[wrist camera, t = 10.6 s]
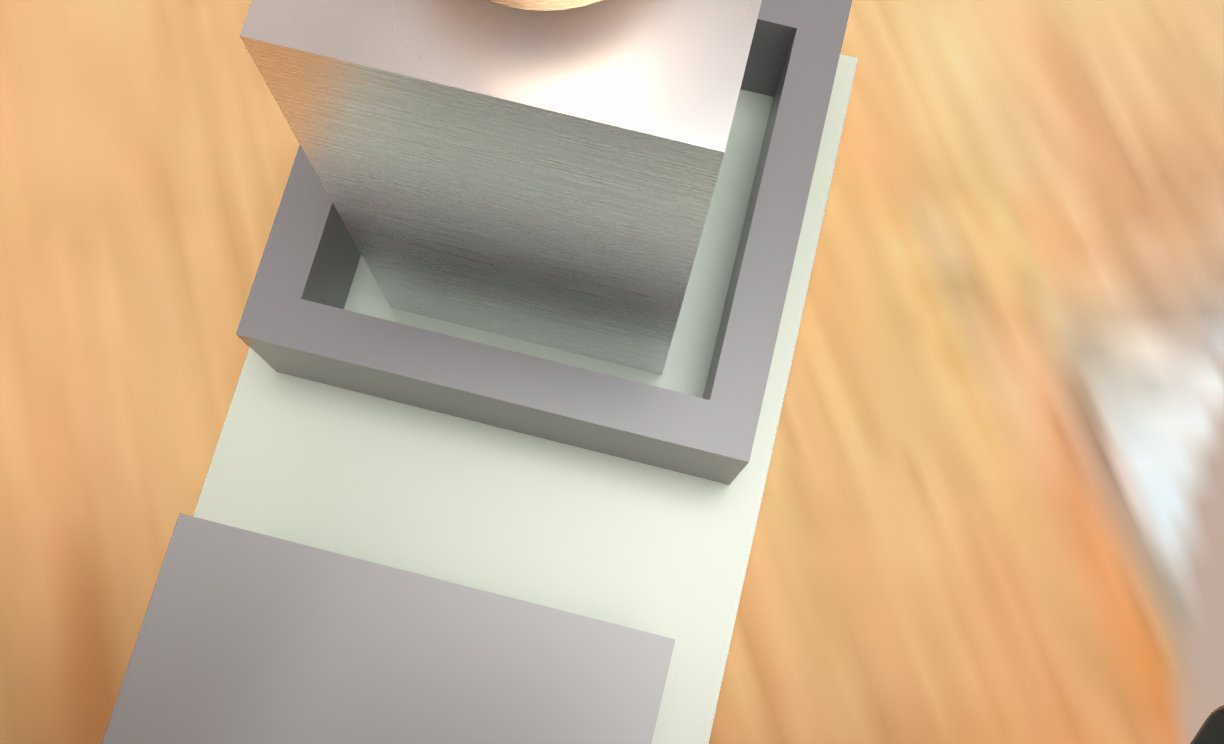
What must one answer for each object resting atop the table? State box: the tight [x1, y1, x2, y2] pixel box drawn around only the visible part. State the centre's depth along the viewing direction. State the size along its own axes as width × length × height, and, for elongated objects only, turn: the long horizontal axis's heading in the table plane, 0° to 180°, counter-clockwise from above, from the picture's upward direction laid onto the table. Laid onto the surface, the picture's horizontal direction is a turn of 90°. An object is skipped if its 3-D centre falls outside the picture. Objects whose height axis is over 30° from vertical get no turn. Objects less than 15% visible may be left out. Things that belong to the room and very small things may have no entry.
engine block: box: [240, 0, 762, 375], centre depth 15 cm, size 5×5×12 cm
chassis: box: [102, 0, 858, 744], centre depth 19 cm, size 17×9×6 cm, turn 166°
